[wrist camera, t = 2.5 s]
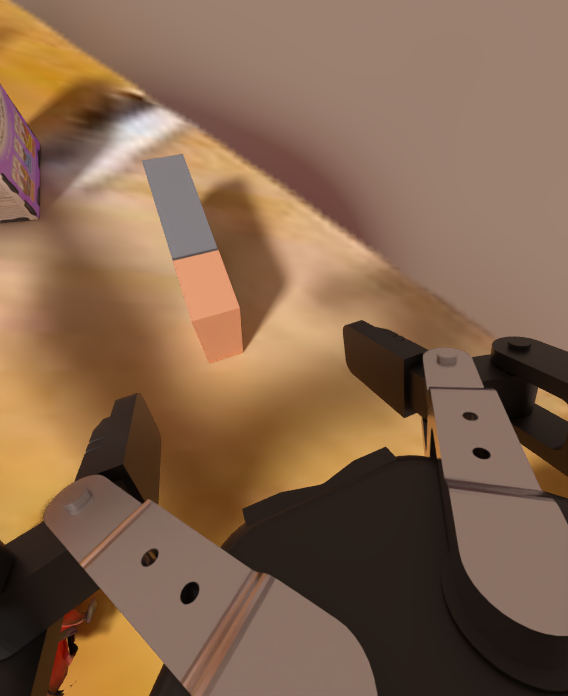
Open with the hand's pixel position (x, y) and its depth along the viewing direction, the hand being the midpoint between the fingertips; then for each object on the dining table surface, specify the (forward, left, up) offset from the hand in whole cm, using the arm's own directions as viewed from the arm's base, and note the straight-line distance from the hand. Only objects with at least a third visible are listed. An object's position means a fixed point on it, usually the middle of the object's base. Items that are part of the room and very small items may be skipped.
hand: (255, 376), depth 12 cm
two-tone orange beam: (+8, +8, -22) cm, 25 cm away
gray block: (+15, +14, -22) cm, 31 cm away
